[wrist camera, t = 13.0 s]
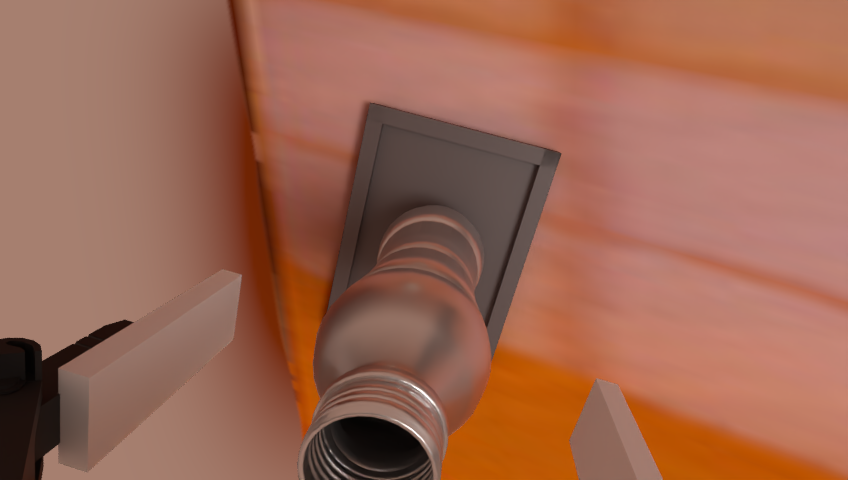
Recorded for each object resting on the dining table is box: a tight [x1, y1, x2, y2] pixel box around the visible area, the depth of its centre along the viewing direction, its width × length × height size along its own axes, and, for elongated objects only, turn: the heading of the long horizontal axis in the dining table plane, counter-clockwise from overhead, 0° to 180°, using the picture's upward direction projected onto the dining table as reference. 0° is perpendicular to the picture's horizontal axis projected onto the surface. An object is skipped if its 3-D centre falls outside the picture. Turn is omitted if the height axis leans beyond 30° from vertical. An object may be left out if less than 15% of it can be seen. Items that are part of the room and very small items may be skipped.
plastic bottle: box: [297, 205, 491, 480], centre depth 21 cm, size 6×7×20 cm
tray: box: [327, 103, 561, 361], centre depth 30 cm, size 16×12×1 cm
